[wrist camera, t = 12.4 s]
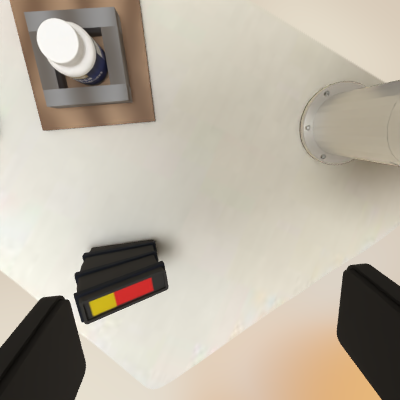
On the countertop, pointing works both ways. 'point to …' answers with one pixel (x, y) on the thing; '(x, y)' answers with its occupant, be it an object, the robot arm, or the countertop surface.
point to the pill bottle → (72, 51)
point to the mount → (115, 57)
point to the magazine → (118, 278)
